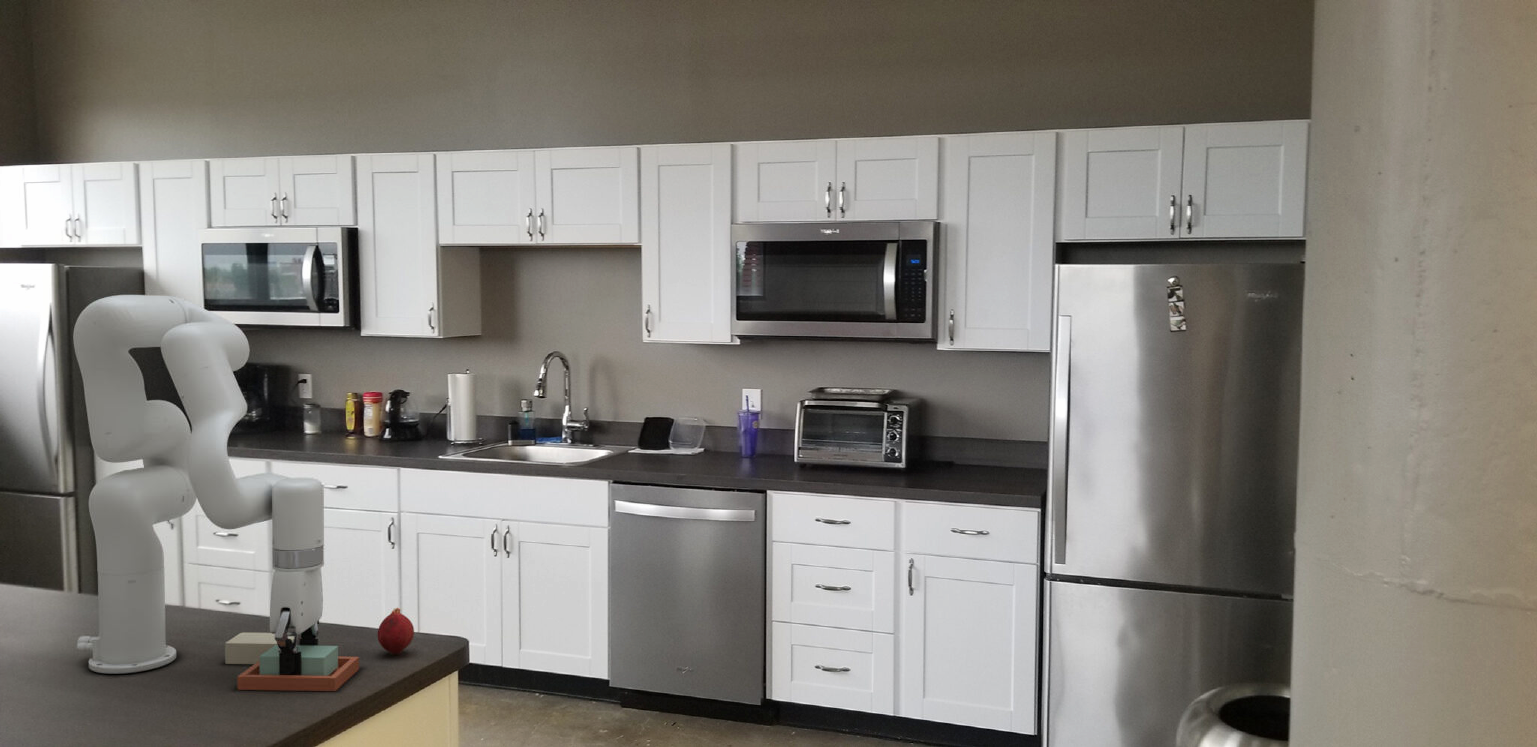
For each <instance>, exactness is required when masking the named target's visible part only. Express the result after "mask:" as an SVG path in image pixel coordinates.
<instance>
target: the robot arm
mask: <svg viewBox="0 0 1537 747" xmlns="http://www.w3.org/2000/svg"><path fill="white" fill-rule="evenodd" d="M73 328H74V329H73V334H72V335H73V338H72V339H73V347H74V353H75V356H76V360H77V363H78V366H79V370H80V374H81V377H82V383H83V390H84V392H83V393H84V401H85V407H86V408H85V409H86V414H87V421H88V422H87V423H88V429H89V436H90V442H91V446H92V449H93V451H94V454H95V456H97V457H98V458H99V459H100V460H102V461H104V462H106V463H111V464H112V463H113V464H118V463H129V462H135V461H141V460H142V465H143V467H137V468H133V469H127V470H122V471H118V472H114V473H111V474H109V475H107V476H105V477H103V478H102V479H100V480H99V481H98V482H96V484H95V485H94V486H93V488H92V489H91V491H90V494H89V498H88V511H89V516H90V519H91V524H92V527H93V528H92V529H93V532H94V538H95V547H96V561H97V562H96V566H97V598H98V604H97V605H98V636H92V635H90V636H89V635H81V636H79V637H78V639H77V643H76V651H77V652H91V653H92V656H91V657H90V658H89V660H88V669H89V670H90V671H92V672H96V673H99V674H106V675H120V674H121V675H122V674H132V673H140V672H145V671H150V670H155V669H158V668H161V667H165V666H166V665H168V664H170V663H172V662H173V661H174V660H176V658H177V649H176V648H175V647H173V646H171V645H168V644H167V641H166V639H167V637H166V583H165V582H166V581H165V578H166V577H165V554H164V549H163V544H162V543H161V540H160V538H159V536H158V535H157V533H156V530H155V529H154V525H157V524H160V523H163V522H164V523H165V522H168V521H171V520H175V519H178V518H181V517H183V516H185V515H186V514H188V513H189V512H190V511H191V510H192V509H193V507H194V506H195V504H196V502H198V504H199V506H200V508H201V510H202V511H203V513H204V515H205V516H206V518H207V519H208V520H209V521H210V523H212V524H213V525H215V526H216V527H218V528H220V529H223V530H237V529H241V528H245V527H247V526H251V525H254V524H258V523H263V522H268V521H271V525H272V526H271V533H272V534H271V536H272V538H271V539H272V540H271V541H272V544H271V545H272V547H271V550H272V551H271V552H272V553H271V554H272V559H271V560H272V565H271V566H272V570H274V571H273V575H272V582H271V589H270V604H269V633H272V634H275V640H276V642H277V645H278V652H279V675H301V652H298V651H299V645H308V646H319V635H320V631H319V625H320V620H321V619H322V616H323V609H324V594H323V593H324V592H323V591H324V590H323V576H322V575H323V574H322V568H323V567H324V566H325V505H324V504H325V503H324V502H325V492H324V491H325V490H324V485H323V483H322V482H321V480H319V479H317V478H313V477H289V476H285V475H281V474H278V473H274V472H273V473H272V472H261V473H256V474H252V475H245V476H242V477H236V474H235V473H234V470H233V468H232V465H231V463H230V459H229V455H228V442H229V436H230V434H231V433H232V430H233V428H234V427H235V426H236V424H238V422H240V420H242V419H243V418H244V417H245V416H246V414H247V411H248V404H247V401H246V399H245V397H244V395H243V393H242V390H241V388H240V386H239V383H238V381H237V379H236V376H235V374H234V372H236V371H238V370H240V369H242V367H244V366H245V365H246V363H247V362H248V359H249V357H250V344H249V341H248V339H247V336H246V335H245V333H244V332H243V330H242V329H241V328H240V327H238V326H237V325H236V324H234V323H233V322H232V321H229V320H228V319H226V318H224V317H222V316H221V315H218V314H216V313H214V312H212V311H210V310H208V309H205V308H204V307H202V306H200V305H198V304H196V303H194V302H191V301H189V300H187V299H185V298H182V297H179V296H176V295H175V296H174V295H163V294H161V295H160V294H157V295H156V294H153V295H151V294H149V295H147V294H118V295H111V296H110V295H109V296H106V297H103V298H98V299H97V300H95V301H93V302H91V303H90V304H88V305H87V306H86V307H85V308H84V309H83V310H82V311H81V312H80V313H79V316H78V317H77V319H76V322H75V324H74V327H73ZM134 348H135V349H136V348H160V352H161V354H162V355H161V356H162V359H163V361H164V364H165V367H166V369H167V371H168V372H169V375H170V377H171V378H170V379H171V380H172V382H173V384H174V387H175V389H176V391H177V394H178V396H179V399H180V401H181V404H182V405H183V408H184V411H185V413H186V415H187V416H186V415H185V414H184V412H183V411H182V409H181V408H179V407H178V406H177V405H176V404H174V403H172V402H170V401H167V400H162V399H151V400H147V395H146V390H145V381H144V376H143V373H142V371H141V369H140V366H139V365H138V362H136V360H135V359H134V357H132V355H131V354H130V352H129V351H130V350H131V349H134ZM188 419H189V421H188ZM189 422H190V423H189ZM190 425H191V426H190ZM289 629H294V630H293V631H289ZM288 636H294V643H293V642H292V640H291V639H288Z"/></svg>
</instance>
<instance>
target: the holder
mask: <svg viewBox="0 0 1537 747" xmlns="http://www.w3.org/2000/svg"><path fill="white" fill-rule="evenodd" d="M359 670H360V657H359V656H339V655H338V668H337V669H335V670H334V671H333V672H332V673H331V674H330V675H329V676H307V675H260V661H258V662H257V663H256V664H252V665H251V666H250V667H248V668H247V669H246V670H244V671H243V672H242V673H240V674H239V675H238V676H237V677H236V678H237V681H236V682H237V686H236V687H237V690H238V691H289V692H290V691H293V692H294V691H299V692H302V691H303V692H336V691H337V690H339V688H340V687H342V685H344V684H345V683H346V682H347V681H348V680H349V679H350V678H351V677H352V676H353V675H355V674H356V673H357V672H358V671H359Z"/></svg>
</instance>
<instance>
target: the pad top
mask: <svg viewBox="0 0 1537 747" xmlns="http://www.w3.org/2000/svg"><path fill="white" fill-rule="evenodd" d="M288 639H291V640H292V642H293V643H294V636H288ZM275 645H277V642H276V640H275V634H272V633H271V632H240V633H238V634H236V635H235V636H234V637H232V638H231V639H229V640H228V641H225V643H224V664H225V665H254V664H256V663H257V662H258V661H260V656H261V655H262V654H264V653H265V652H266V651H268V650H269V649H271V648H272V647H273V646H275Z"/></svg>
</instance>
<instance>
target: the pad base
mask: <svg viewBox="0 0 1537 747" xmlns="http://www.w3.org/2000/svg"><path fill="white" fill-rule="evenodd" d="M298 652H301V675H307V676H329V675H330V674H331V673H332V672H333V671H334V670H335V669H337V668H338V656H339V645H318V646H308V645H299V651H298ZM260 675H279V652H278V645H275V646H273V647H272V648H271V649H269V650H268V651H266V652H265V653H264V654H262V655H261V656H260Z"/></svg>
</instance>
